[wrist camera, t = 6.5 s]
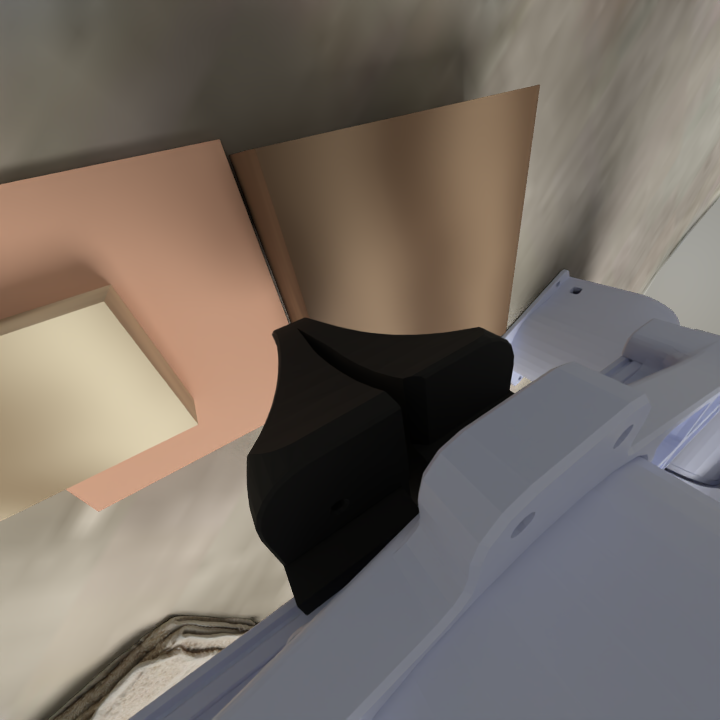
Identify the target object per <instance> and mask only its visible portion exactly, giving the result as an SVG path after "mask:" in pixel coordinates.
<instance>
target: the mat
mask: <svg viewBox="0 0 720 720" xmlns="http://www.w3.org/2000/svg"><path fill="white" fill-rule="evenodd" d="M110 284H111V285H112V287H113V288H114V290H115V291H116V292H117V294H118V295H119V297H120V298H121V299H122V301H123V302H124V303H125V305H126V306H127V308H128V309H129V310H130V312H131V313H132V314H133V316H134V317H135V319H136V320H137V321H138V323H139V324H140V326H141V327H142V328H143V330H144V331H145V332H146V334H147V335H148V337H149V338H150V339H151V341H152V342H153V343H154V345H155V346H156V348H157V349H158V350H159V352H160V353H161V355H162V356H163V357H164V359H165V360H166V361H167V363H168V364H169V366H170V367H171V368H172V370H173V371H174V372H175V374H176V375H177V377H178V378H179V379H180V381H181V382H182V384H183V385H184V386H185V388H186V389H187V390H188V392H189V393H190V395H191V396H192V397H193V399H194V403H195V409H196V415H197V420H198V425H196V426H194V427H192V428H190V429H188V430H186V431H184V432H182V433H180V434H178V435H176V436H174V437H172V438H170V439H168V440H166V441H164V442H161V443H159V444H157V445H155V446H153V447H151V448H149V449H147V450H145V451H143V452H141V453H139V454H137V455H135V456H133V457H131V458H129V459H127V460H125V461H123V462H121V463H119V464H117V465H114V466H112V467H110V468H108V469H106V470H104V471H102V472H100V473H98V474H96V475H94V476H92V477H90V478H88V479H86V480H84V481H82V482H80V483H78V484H76V485H74V486H72V487H70V488H67V489H66V490H68V491H69V492H70V493H72V494H73V495H75V496H76V497H78V498H79V499H81V500H82V501H84V502H85V503H87V504H88V505H90V506H91V507H93V508H94V509H95V510H97V511H98V512H99V511H101V510H103V509H104V508H106V507H108V506H110V505H112V504H114V503H116V502H118V501H120V500H122V499H123V498H125V497H127V496H129V495H131V494H133V493H135V492H137V491H139V490H141V489H142V488H144V487H146V486H148V485H150V484H152V483H154V482H156V481H158V480H160V479H162V478H163V477H165V476H167V475H169V474H171V473H173V472H175V471H177V470H179V469H181V468H182V467H184V466H186V465H188V464H190V463H192V462H194V461H196V460H198V459H200V458H201V457H203V456H205V455H207V454H209V453H211V452H213V451H215V450H217V449H219V448H220V447H222V446H224V445H226V444H228V443H230V442H232V441H234V440H236V439H238V438H239V437H241V436H243V435H245V434H247V433H249V432H251V431H253V430H255V429H257V428H258V427H260V426H262V425H264V424H265V422H266V419H267V417H268V414H269V412H270V409H271V406H272V403H273V398H274V394H275V390H276V385H277V377H278V351H277V346H276V343H275V341H274V339H273V336H272V333H273V331H274V330H276V329H279V328H281V327H283V326H286V325H288V324H289V323H288V320H287V318H286V315H285V312H284V310H283V307H282V304H281V302H280V299H279V296H278V294H277V291H276V288H275V286H274V283H273V280H272V278H271V275H270V272H269V270H268V267H267V264H266V262H265V259H264V256H263V254H262V251H261V248H260V246H259V243H258V240H257V238H256V235H255V232H254V230H253V227H252V224H251V222H250V219H249V216H248V214H247V211H246V208H245V206H244V203H243V200H242V198H241V195H240V192H239V190H238V187H237V184H236V182H235V179H234V176H233V174H232V171H231V168H230V166H229V163H228V160H227V158H226V155H225V152H224V150H223V147H222V144H221V142H220V139H218V140H213V141H208V142H203V143H198V144H194V145H189V146H184V147H179V148H174V149H169V150H165V151H160V152H155V153H150V154H145V155H140V156H135V157H131V158H126V159H121V160H116V161H111V162H106V163H102V164H97V165H92V166H87V167H82V168H77V169H73V170H68V171H63V172H58V173H53V174H48V175H43V176H39V177H34V178H29V179H24V180H19V181H14V182H10V183H5V184H0V320H1V319H4V318H7V317H10V316H13V315H16V314H20V313H23V312H26V311H29V310H32V309H35V308H38V307H41V306H45V305H48V304H51V303H54V302H57V301H60V300H63V299H67V298H70V297H73V296H76V295H79V294H82V293H85V292H88V291H92V290H95V289H98V288H101V287H104V286H107V285H110Z"/></svg>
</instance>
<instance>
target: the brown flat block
mask: <svg viewBox="0 0 720 720" xmlns="http://www.w3.org/2000/svg"><path fill="white" fill-rule="evenodd" d="M539 88H540V85H536V86H531V87H527V88H522V89H518V90H513V91H509V92H505V93H500V94H496V95H491V96H487V97H482V98H478V99H473V100H469V101H464V102H460V103H456V104H451V105H447V106H442V107H438V108H433V109H429V110H424V111H420V112H415V113H411V114H407V115H402V116H398V117H393V118H389V119H384V120H380V121H375V122H371V123H366V124H362V125H358V126H353V127H349V128H344V129H340V130H335V131H331V132H326V133H322V134H317V135H313V136H309V137H304V138H300V139H295V140H291V141H286V142H282V143H277V144H273V145H268V146H264V147H260V148H255V149H251V150H247V151H243V152H239V153H235V154H231V155H229V156H230V159H231V162H232V164H233V167H234V170H235V172H236V175H237V178H238V181H239V183H240V186H241V189H242V191H243V194H244V197H245V200H246V202H247V205H248V208H249V210H250V213H251V216H252V219H253V221H254V224H255V227H256V229H257V232H258V235H259V238H260V240H261V243H262V246H263V248H264V251H265V254H266V256H267V259H268V262H269V265H270V267H271V270H272V273H273V275H274V278H275V281H276V284H277V286H278V289H279V292H280V294H281V297H282V300H283V303H284V305H285V308H286V311H287V313H288V316H289V319H290V321H291V323H293V322H295V321H297V320H300V319H302V318H304V317H305V318H310V319H313V320H317V321H320V322H324V323H327V324H331V325H335V326H339V327H343V328H347V329H352V330H357V331H363V332H369V333H379V334H393V335H417V334H432V333H443V332H451V331H457V330H463V329H469V328H475V327H481V328H484V329H486V330H488V331H490V332H492V333H494V334H496V335H498V336H501V335H503V334H505V333H506V328H507V321H508V313H509V306H510V299H511V291H512V284H513V277H514V270H515V262H516V255H517V248H518V241H519V233H520V226H521V219H522V211H523V204H524V197H525V190H526V182H527V175H528V168H529V161H530V153H531V146H532V139H533V132H534V124H535V117H536V110H537V102H538V95H539Z"/></svg>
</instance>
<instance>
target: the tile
mask: <svg viewBox="0 0 720 720" xmlns="http://www.w3.org/2000/svg"><path fill="white" fill-rule="evenodd" d="M196 425H198V420H197V415H196V409H195V403H194V399H193V397H192V396H191V395H190V393H189V392H188V390H187V389H186V388H185V386H184V385H183V384H182V382H181V381H180V379H179V378H178V377H177V375H176V374H175V372H174V371H173V370H172V368H171V367H170V366H169V364H168V363H167V361H166V360H165V359H164V357H163V356H162V355H161V353H160V352H159V350H158V349H157V348H156V346H155V345H154V343H153V342H152V341H151V339H150V338H149V337H148V335H147V334H146V332H145V331H144V330H143V328H142V327H141V326H140V324H139V323H138V321H137V320H136V319H135V317H134V316H133V314H132V313H131V312H130V310H129V309H128V308H127V306H126V305H125V303H124V302H123V301H122V299H121V298H120V297H119V295H118V294H117V292H116V291H115V290H114V288H113V287H112V285H111V284H110V285H107V286H104V287H101V288H98V289H95V290H92V291H88V292H85V293H82V294H79V295H76V296H73V297H70V298H67V299H63V300H60V301H57V302H54V303H51V304H48V305H45V306H41V307H38V308H35V309H32V310H29V311H26V312H23V313H20V314H16V315H13V316H10V317H7V318H4V319H1V320H0V521H2V520H4V519H6V518H8V517H10V516H12V515H14V514H16V513H18V512H21V511H23V510H25V509H27V508H29V507H31V506H33V505H35V504H37V503H39V502H41V501H43V500H45V499H47V498H49V497H51V496H53V495H55V494H57V493H59V492H61V491H63V490H65V489H67V488H70V487H72V486H74V485H76V484H78V483H80V482H82V481H84V480H86V479H88V478H90V477H92V476H94V475H96V474H98V473H100V472H102V471H104V470H106V469H108V468H110V467H112V466H114V465H117V464H119V463H121V462H123V461H125V460H127V459H129V458H131V457H133V456H135V455H137V454H139V453H141V452H143V451H145V450H147V449H149V448H151V447H153V446H155V445H157V444H159V443H161V442H164V441H166V440H168V439H170V438H172V437H174V436H176V435H178V434H180V433H182V432H184V431H186V430H188V429H190V428H192V427H194V426H196Z"/></svg>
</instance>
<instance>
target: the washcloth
mask: <svg viewBox="0 0 720 720" xmlns="http://www.w3.org/2000/svg"><path fill="white" fill-rule="evenodd" d="M254 626H255V622H253V621H252V620H250V619H240V618H221V619H220V618H211V617H198V616H178V617H174V618H171V619H169V620H168V621H167V622H165V623H163V624H162V625H161V626H160V627H158V628H156V629H155V630H153V631H151V632H150V633H148V634H147V635H145V636H144V637H142V638H141V639H140V640H139V641H140V643H137V644H135V645H133V646H132V647H131V648H130V649H129V650H128V651H126V652H125V653H123V654H122V655H120V656H119V657H118V658H117V659H116V660H115V661H114V662H112V663H111V664H110V665H109V666H108V667H107V668H105V669H104V670H103V671H102V672H101V673H100V674H99V675H98V676H96V677H95V678H94V679H93V680H92V681H91V682H89V683H88V684H87V685H86V686H85V687H84V688H83V689H82V690H81V691H80V692H78V693H77V694H76V695H75V696H74V697H73V698H72V699H71V700H70V701H68V702H67V703H66V704H65V705H64V706H63V707H62V708H60V709H59V710H58V711H57V712H56V713H55V714H54V715H53V716H51V717H50V718H49V719H48V720H128V719H129V718H130V717H132V716H133V715H135V714H136V713H137V712H139V711H140V710H141V709H143V708H144V707H145V706H147V705H148V704H149V703H151V702H152V701H154V700H155V699H156V698H158V697H159V696H160V695H162V694H163V693H164V692H166V691H167V690H168V689H170V688H171V687H173V686H174V685H175V684H177V683H178V682H179V681H181V680H182V679H183V678H185V677H186V676H187V675H189V674H190V673H192V672H193V671H194V670H196V669H197V668H198V667H200V666H201V665H202V664H204V663H205V662H206V661H208V660H209V659H211V658H212V657H213V656H215V655H216V654H217V653H219V652H220V651H221V650H223V649H224V648H225V647H227V646H228V645H230V644H231V643H232V642H234V641H235V640H236V639H238V638H239V637H240V636H242V635H243V634H244V633H246V632H247V631H249V630H250V629H251V628H253V627H254Z"/></svg>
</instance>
